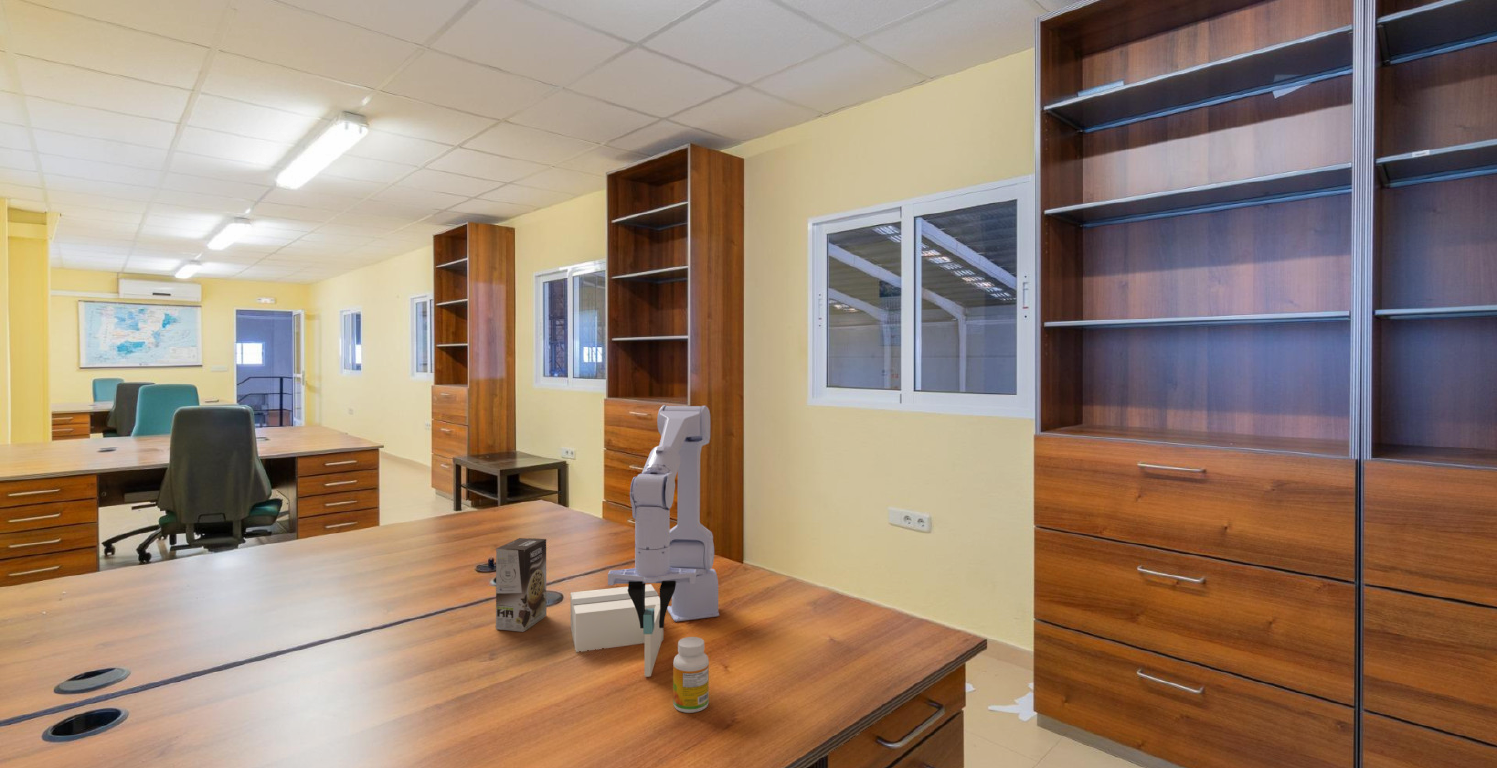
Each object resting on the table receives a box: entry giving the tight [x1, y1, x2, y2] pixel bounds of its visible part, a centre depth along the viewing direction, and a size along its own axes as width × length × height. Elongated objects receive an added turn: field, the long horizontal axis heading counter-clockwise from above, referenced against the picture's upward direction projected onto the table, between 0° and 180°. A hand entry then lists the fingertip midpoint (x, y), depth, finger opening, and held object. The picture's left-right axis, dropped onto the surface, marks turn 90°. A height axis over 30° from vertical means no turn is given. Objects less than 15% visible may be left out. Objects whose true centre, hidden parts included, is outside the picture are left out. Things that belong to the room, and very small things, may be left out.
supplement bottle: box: [672, 636, 710, 714], centre depth 102 cm, size 5×5×10 cm
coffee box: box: [495, 537, 547, 633], centre depth 135 cm, size 9×6×16 cm
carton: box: [570, 583, 664, 653], centre depth 129 cm, size 16×12×7 cm
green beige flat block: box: [643, 605, 662, 677], centre depth 118 cm, size 14×1×10 cm, turn 0°
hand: (652, 626), depth 112 cm, fingers open, 2 cm apart
